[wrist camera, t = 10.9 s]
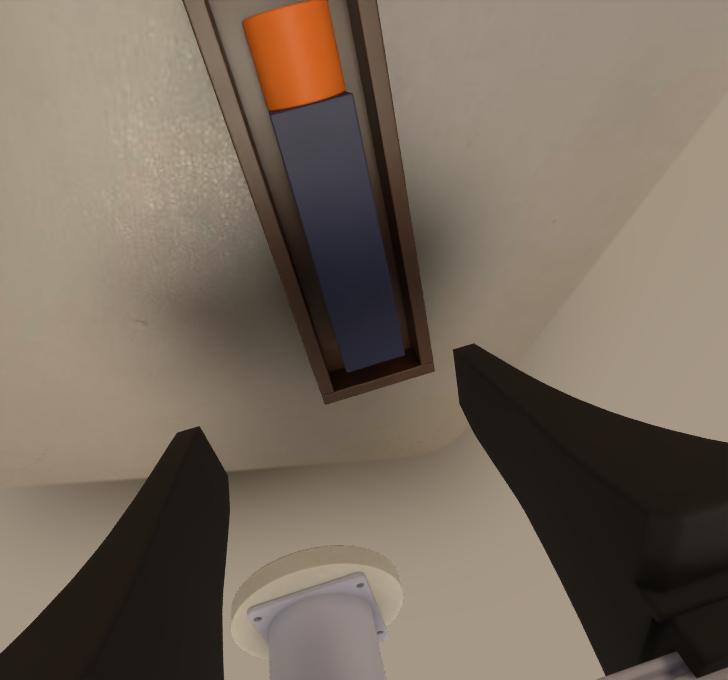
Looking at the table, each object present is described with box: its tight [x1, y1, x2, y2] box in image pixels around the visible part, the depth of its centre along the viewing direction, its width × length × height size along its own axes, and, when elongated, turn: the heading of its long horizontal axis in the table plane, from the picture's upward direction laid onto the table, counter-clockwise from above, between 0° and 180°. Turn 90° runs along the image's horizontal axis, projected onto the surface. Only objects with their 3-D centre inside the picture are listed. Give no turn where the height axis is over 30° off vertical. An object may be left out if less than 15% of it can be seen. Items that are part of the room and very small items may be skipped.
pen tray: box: [182, 0, 435, 404], centre depth 17 cm, size 16×5×2 cm, turn 12°
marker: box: [242, 0, 405, 372], centre depth 16 cm, size 12×3×3 cm, turn 12°
